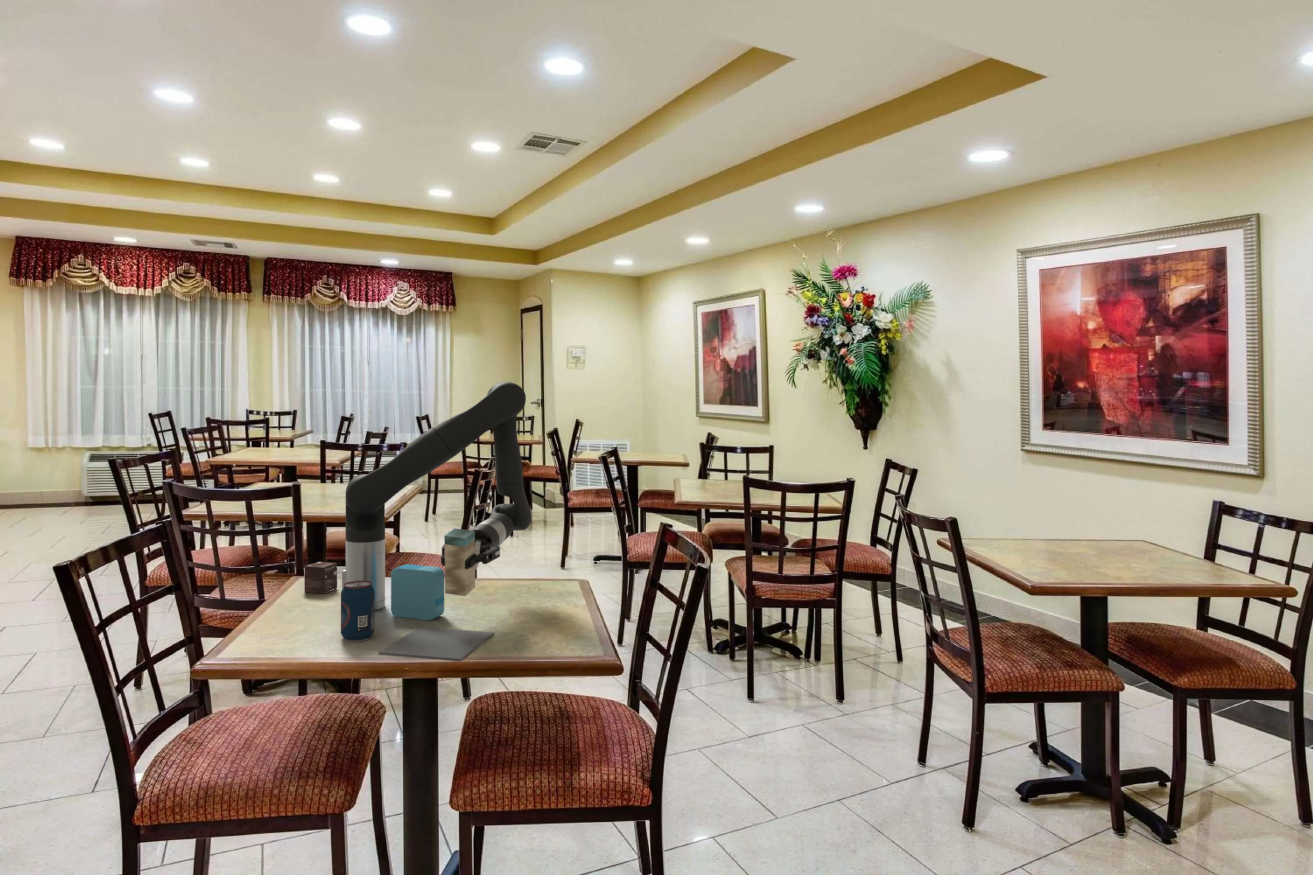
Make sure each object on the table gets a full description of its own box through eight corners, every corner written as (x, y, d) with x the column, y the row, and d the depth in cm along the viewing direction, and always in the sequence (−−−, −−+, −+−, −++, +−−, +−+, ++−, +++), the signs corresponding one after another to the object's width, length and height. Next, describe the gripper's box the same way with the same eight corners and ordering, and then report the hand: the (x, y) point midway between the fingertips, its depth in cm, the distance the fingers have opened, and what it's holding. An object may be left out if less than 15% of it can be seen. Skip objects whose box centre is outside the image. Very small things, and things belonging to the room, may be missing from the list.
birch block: (445, 593, 175) (444, 535, 172) (455, 584, 180) (454, 528, 177) (465, 596, 174) (465, 538, 171) (474, 587, 179) (474, 530, 176)
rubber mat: (378, 654, 158) (378, 652, 158) (419, 628, 176) (419, 626, 175) (461, 660, 155) (461, 658, 155) (494, 633, 173) (494, 632, 173)
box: (323, 594, 203) (323, 567, 203) (303, 593, 204) (303, 565, 204) (337, 589, 209) (337, 562, 209) (318, 587, 210) (318, 561, 210)
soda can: (336, 636, 169) (336, 582, 168) (369, 630, 173) (369, 578, 172) (345, 644, 163) (345, 588, 163) (378, 638, 168) (378, 584, 167)
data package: (444, 616, 186) (444, 567, 185) (434, 621, 181) (434, 571, 181) (401, 611, 189) (401, 563, 188) (390, 616, 185) (390, 567, 184)
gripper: (458, 520, 189) (425, 544, 173) (513, 526, 187) (484, 551, 170) (459, 548, 191) (425, 574, 175) (513, 555, 188) (484, 583, 172)
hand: (454, 563), depth 173 cm, fingers closed on birch block, 5 cm apart
